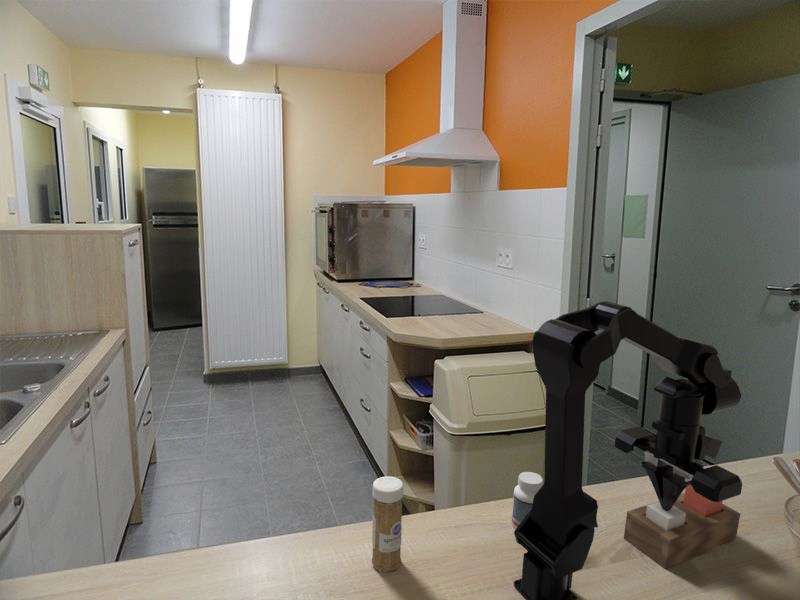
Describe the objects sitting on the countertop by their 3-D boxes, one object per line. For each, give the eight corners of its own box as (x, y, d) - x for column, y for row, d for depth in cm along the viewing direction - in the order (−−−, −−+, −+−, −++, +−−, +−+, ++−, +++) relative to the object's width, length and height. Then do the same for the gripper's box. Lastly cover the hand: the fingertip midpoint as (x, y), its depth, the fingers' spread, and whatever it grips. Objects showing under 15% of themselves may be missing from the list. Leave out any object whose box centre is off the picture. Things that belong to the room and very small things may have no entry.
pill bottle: (543, 536, 91) (547, 488, 89) (511, 532, 92) (515, 484, 90) (541, 518, 96) (545, 471, 94) (511, 513, 97) (514, 468, 95)
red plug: (704, 518, 89) (709, 490, 88) (682, 505, 93) (686, 478, 92) (720, 512, 91) (725, 485, 90) (698, 500, 95) (702, 473, 93)
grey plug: (664, 547, 86) (668, 519, 85) (643, 532, 90) (647, 505, 88) (681, 540, 88) (685, 513, 87) (660, 526, 91) (664, 499, 90)
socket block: (665, 569, 84) (669, 540, 83) (623, 538, 91) (627, 511, 90) (735, 540, 91) (740, 513, 90) (692, 514, 98) (696, 489, 97)
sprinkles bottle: (391, 577, 80) (393, 494, 78) (365, 566, 83) (366, 485, 80) (406, 559, 84) (409, 480, 81) (381, 549, 86) (383, 471, 84)
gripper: (773, 434, 80) (756, 530, 83) (663, 390, 96) (652, 471, 99) (724, 448, 75) (707, 549, 78) (617, 399, 91) (607, 484, 94)
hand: (666, 509), depth 88 cm, fingers closed, pressing on grey plug
